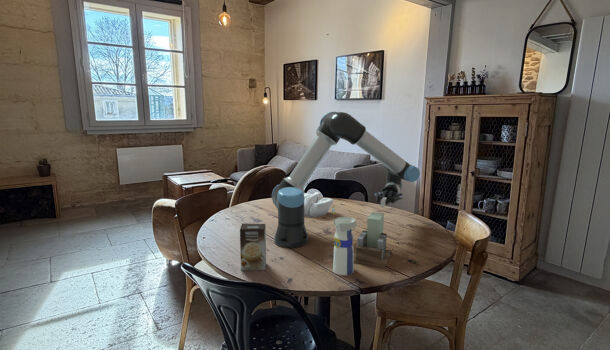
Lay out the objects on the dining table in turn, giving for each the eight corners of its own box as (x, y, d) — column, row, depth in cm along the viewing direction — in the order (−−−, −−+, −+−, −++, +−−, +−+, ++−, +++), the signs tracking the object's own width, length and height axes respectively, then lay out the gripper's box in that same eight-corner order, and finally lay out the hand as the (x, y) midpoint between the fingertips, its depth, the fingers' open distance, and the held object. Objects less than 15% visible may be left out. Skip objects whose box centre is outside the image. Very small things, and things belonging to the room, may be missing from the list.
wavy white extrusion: (270, 210, 198) (270, 192, 196) (287, 203, 211) (287, 187, 209) (322, 220, 179) (322, 201, 177) (336, 212, 193) (336, 194, 191)
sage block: (370, 243, 144) (372, 212, 141) (382, 245, 142) (384, 213, 139) (366, 251, 135) (367, 218, 133) (378, 253, 134) (380, 219, 131)
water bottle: (343, 278, 116) (344, 209, 112) (327, 269, 123) (327, 203, 119) (359, 271, 121) (361, 205, 117) (343, 263, 128) (345, 200, 123)
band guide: (360, 247, 143) (360, 227, 141) (391, 252, 138) (392, 231, 136) (351, 261, 129) (351, 239, 128) (385, 267, 124) (386, 244, 123)
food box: (240, 271, 122) (238, 229, 119) (242, 263, 128) (241, 223, 125) (265, 270, 123) (264, 228, 119) (266, 262, 129) (265, 222, 126)
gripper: (404, 200, 162) (397, 214, 141) (377, 197, 167) (367, 211, 146) (404, 185, 161) (398, 196, 140) (377, 183, 166) (367, 194, 145)
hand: (382, 204), depth 143 cm, fingers closed
